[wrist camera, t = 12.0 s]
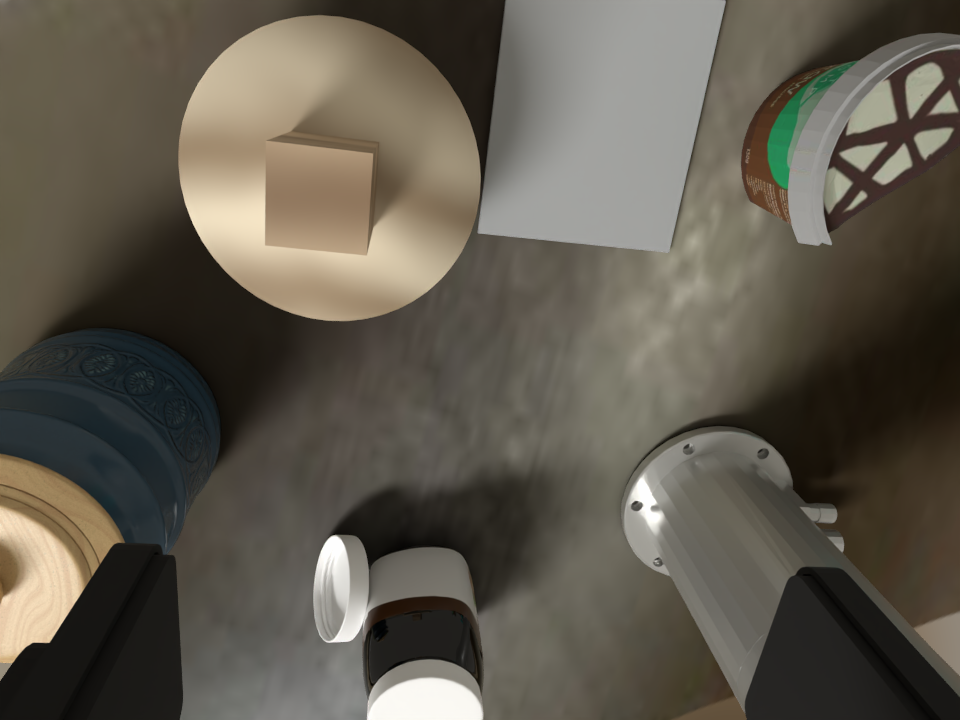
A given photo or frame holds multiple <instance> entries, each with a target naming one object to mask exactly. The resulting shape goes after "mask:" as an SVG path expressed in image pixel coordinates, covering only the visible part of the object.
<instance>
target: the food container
mask: <svg viewBox="0 0 960 720" xmlns="http://www.w3.org/2000/svg"><path fill="white" fill-rule="evenodd" d="M959 146H960V35H954V34H946V33H930V34H919V35H915V36H911V37H907V38H903V39H899V40H897V41H894V42H892V43H890V44H887V45H885V46H883V47H880V48H879V49H877V50H875V51H874V52H872V53H870V54H869V55H867V56H866V57H864V58H862V59H861V60H858V61H853V62H848V63H842V64H837V65H832V66H826V67H821V68H816V69H812V70H809V71H807V72H804V73H801V74H799V75H796V76H794V77H792V78H790V79H789V80H787V81H786V82H784V83H782V84H781V85H780V86H779V87H778V88H776V89H775V90H774V91H773V92H772V93H771V94H770V95H769V96H768V97H767V98H766V100H765V101H764V102H763V103H762V105H761V106H760V107H759V109H758V110H757V112H756V113H755V115H754V117H753V119H752V121H751V123H750V125H749V127H748V130H747V133H746V136H745V139H744V144H743V149H742V158H741V170H742V179H743V183H744V187H745V190H746V193H747V195H748V197H749V200H750V201H751V202H752V203H754V204H756V205H758V206H759V207H761V208H763V209H765V210H766V211H768V212H770V213H772V214H773V215H775V216H777V217H779V218H780V219H782V220H784V221H786V222H787V223H789V224H791V225H792V228H793V231H794V233H795V236H796V238H797V241H798V243H803V244H811V245H818V246H819V245H820V244H821V243H825V244H828V245H832V242H831V240H830V237H829V234H828V233H830V232H831V231H833V230H835V229H837V228H838V227H839V226H840V225H841V224H843V223H844V222H845V221H847V220H848V219H849V218H851V217H852V216H854V215H855V214H857V213H858V212H860V211H861V210H863V209H864V208H866V207H867V206H869V205H871V204H872V203H874V202H875V201H877V200H879V199H880V198H882V197H884V196H885V195H887V194H888V193H890V192H892V191H894V190H895V189H897V188H899V187H901V186H902V185H904V184H906V183H908V182H909V181H911V180H913V179H914V178H916V177H918V176H919V175H921V174H923V173H924V172H926V171H927V170H929V169H930V168H932V167H933V166H934V165H936V164H937V163H938V162H940V161H941V160H942V159H944V158H945V157H946V156H947V155H949V154H950V153H951V152H952V151H954V150H955V149H956V148H957V147H959Z"/></svg>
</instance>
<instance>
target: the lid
mask: <svg viewBox="0 0 960 720" xmlns="http://www.w3.org/2000/svg"><path fill="white" fill-rule="evenodd" d="M178 164H179V173H180V183H181V188H182V192H183V196H184V200H185V204H186V207H187V210H188V212H189V215H190V218H191V220H192V223H193V225H194V227H195V229H196V231H197V233H198V234H199V236H200V238H201V240H202V242H203V243H204V245H205V246H206V248H207V249H208V251H209V252H210V253H211V255H212V256H213V258H214V259H215V260H216V261H217V262H218V263H219V265H220V266H221V267H222V268H223V269H224V270H225V271H226V273H228V274H229V275H230V276H231V277H232V278H233V279H234V280H235V281H236V282H238V283H239V284H240V285H241V286H242V287H244V288H245V289H247V290H248V291H249V292H251V293H252V294H254V295H255V296H256V297H258V298H260V299H262V300H264V301H265V302H267V303H269V304H271V305H273V306H275V307H277V308H280V309H282V310H285V311H287V312H290V313H293V314H297V315H300V316H304V317H308V318H313V319H320V320H327V321H351V320H361V319H367V318H371V317H376V316H380V315H383V314H386V313H389V312H391V311H394V310H397V309H399V308H401V307H403V306H405V305H407V304H409V303H411V302H413V301H414V300H416V299H417V298H419V297H420V296H421V295H423V294H424V293H426V292H427V291H429V290H430V289H431V288H432V287H433V286H434V285H435V284H436V283H437V282H438V281H440V280H441V279H442V277H443V276H444V275H445V274H446V273H447V272H448V270H449V269H450V268H451V267H452V266H453V264H454V263H455V261H456V260H457V258H458V256H459V255H460V253H461V252H462V250H463V248H464V246H465V244H466V242H467V240H468V238H469V236H470V233H471V230H472V227H473V224H474V221H475V218H476V214H477V209H478V203H479V198H480V183H481V174H480V160H479V154H478V149H477V144H476V139H475V136H474V133H473V130H472V126H471V123H470V120H469V118H468V116H467V114H466V112H465V110H464V107H463V105H462V103H461V101H460V99H459V98H458V96H457V95H456V93H455V92H454V90H453V89H452V87H451V85H450V84H449V82H448V81H447V80H446V79H445V78H444V76H443V75H442V74H441V73H440V72H439V70H438V69H437V68H436V67H435V66H434V65H433V64H432V63H431V62H430V61H429V60H428V59H427V58H426V57H424V56H423V55H422V54H421V53H420V52H419V51H418V50H416V49H415V48H413V47H412V46H411V45H409V44H408V43H406V42H405V41H404V40H402V39H400V38H399V37H397V36H395V35H393V34H391V33H389V32H387V31H385V30H384V29H381V28H379V27H376V26H373V25H370V24H368V23H365V22H362V21H358V20H353V19H349V18H344V17H337V16H324V15H315V16H300V17H294V18H290V19H285V20H281V21H277V22H274V23H271V24H269V25H266V26H264V27H261V28H258V29H256V30H255V31H253V32H251V33H249V34H248V35H246V36H244V37H242V38H241V39H239V40H238V41H237V42H235V43H234V44H233V45H232V46H230V47H229V48H228V49H227V50H225V51H224V52H223V53H222V54H221V55H220V56H219V57H218V58H217V59H216V60H215V62H214V63H213V64H212V65H211V66H210V67H209V68H208V70H207V71H206V73H205V74H204V76H203V77H202V79H201V80H200V81H199V83H198V85H197V87H196V89H195V91H194V93H193V95H192V97H191V99H190V101H189V103H188V106H187V110H186V113H185V116H184V119H183V122H182V128H181V134H180V140H179V161H178Z"/></svg>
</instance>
